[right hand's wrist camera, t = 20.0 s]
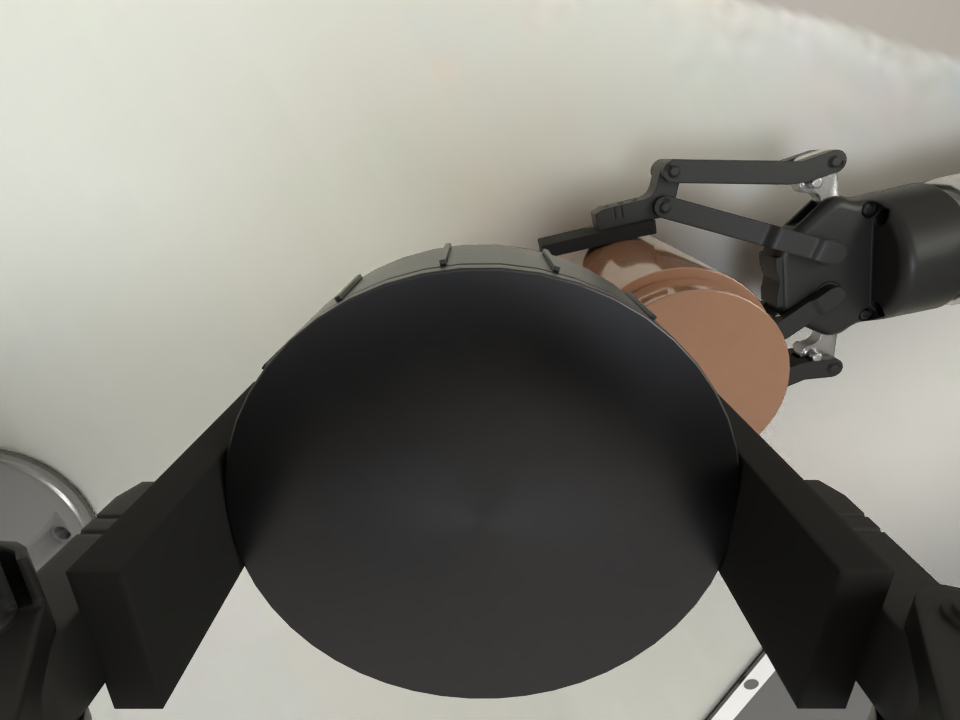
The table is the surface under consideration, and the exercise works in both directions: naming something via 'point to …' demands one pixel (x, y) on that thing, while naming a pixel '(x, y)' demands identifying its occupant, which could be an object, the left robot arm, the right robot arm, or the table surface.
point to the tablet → (780, 699)
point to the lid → (482, 475)
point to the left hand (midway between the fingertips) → (555, 325)
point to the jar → (703, 320)
